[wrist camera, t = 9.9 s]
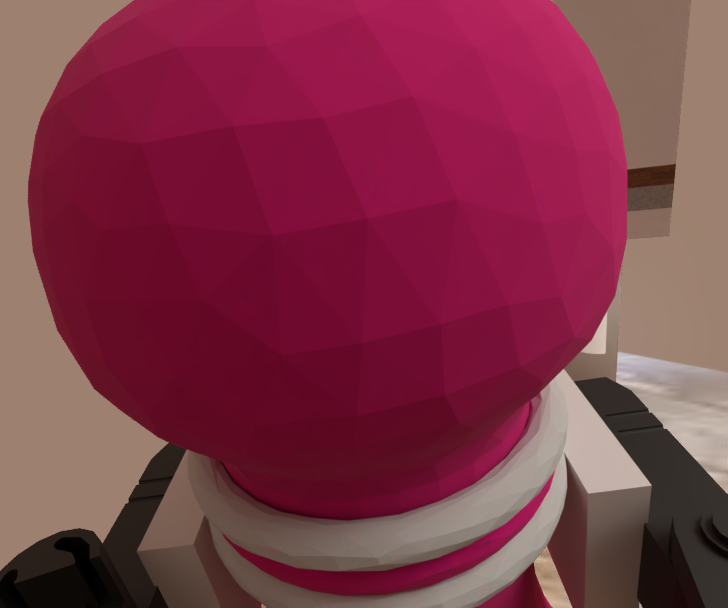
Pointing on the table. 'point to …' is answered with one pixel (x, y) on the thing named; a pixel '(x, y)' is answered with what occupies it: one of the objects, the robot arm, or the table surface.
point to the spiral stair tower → (636, 125)
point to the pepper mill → (341, 276)
